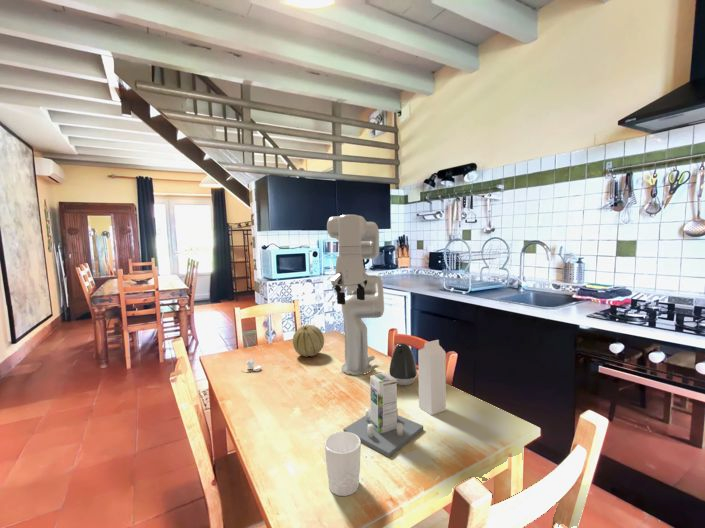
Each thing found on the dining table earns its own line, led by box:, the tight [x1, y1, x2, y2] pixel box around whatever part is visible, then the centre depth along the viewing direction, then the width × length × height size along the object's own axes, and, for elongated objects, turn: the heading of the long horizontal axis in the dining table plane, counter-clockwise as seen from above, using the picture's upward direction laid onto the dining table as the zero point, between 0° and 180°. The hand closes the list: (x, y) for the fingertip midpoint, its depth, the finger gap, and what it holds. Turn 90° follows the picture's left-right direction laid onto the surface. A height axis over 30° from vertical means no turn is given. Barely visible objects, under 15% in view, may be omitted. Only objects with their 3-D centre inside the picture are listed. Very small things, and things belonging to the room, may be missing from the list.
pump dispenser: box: [389, 342, 418, 386], centre depth 124 cm, size 10×10×15 cm
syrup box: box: [369, 372, 398, 434], centre depth 93 cm, size 6×6×14 cm
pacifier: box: [246, 359, 262, 372], centre depth 141 cm, size 9×8×4 cm
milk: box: [417, 339, 447, 416], centre depth 104 cm, size 6×6×22 cm
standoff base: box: [343, 408, 424, 458], centre depth 93 cm, size 16×16×4 cm
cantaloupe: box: [292, 324, 325, 358], centre depth 156 cm, size 15×15×15 cm
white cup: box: [324, 431, 362, 497], centre depth 73 cm, size 8×8×10 cm
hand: (351, 301), depth 112 cm, fingers open, 9 cm apart
